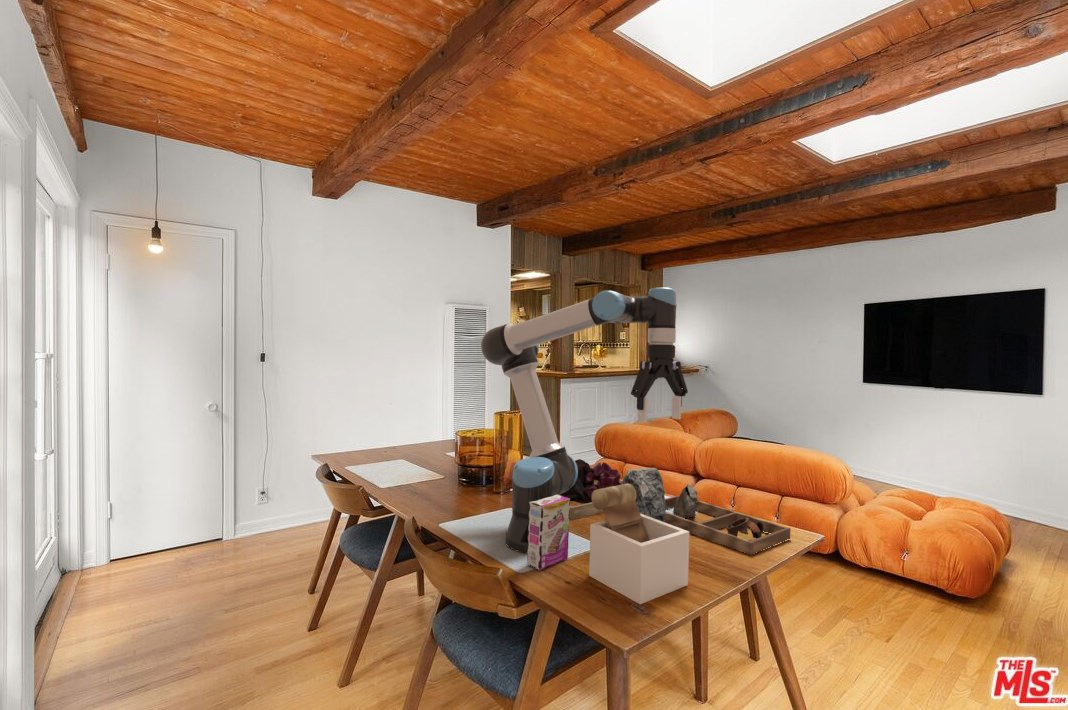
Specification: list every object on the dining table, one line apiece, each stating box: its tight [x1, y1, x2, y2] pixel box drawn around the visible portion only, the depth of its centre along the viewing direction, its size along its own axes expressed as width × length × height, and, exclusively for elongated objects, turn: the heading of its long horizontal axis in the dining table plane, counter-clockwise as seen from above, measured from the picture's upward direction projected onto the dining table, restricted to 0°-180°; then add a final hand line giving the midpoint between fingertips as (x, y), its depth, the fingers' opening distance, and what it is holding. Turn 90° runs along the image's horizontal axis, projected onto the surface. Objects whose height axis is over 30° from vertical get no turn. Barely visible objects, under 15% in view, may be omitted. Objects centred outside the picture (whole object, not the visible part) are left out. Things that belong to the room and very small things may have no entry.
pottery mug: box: [725, 518, 764, 539], centre depth 148 cm, size 12×10×8 cm
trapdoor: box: [592, 483, 649, 543], centre depth 125 cm, size 20×13×5 cm
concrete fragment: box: [673, 484, 699, 519], centre depth 171 cm, size 6×19×11 cm, turn 4°
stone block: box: [622, 467, 666, 522], centre depth 152 cm, size 18×9×20 cm, turn 132°
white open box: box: [588, 514, 690, 605], centre depth 122 cm, size 17×17×13 cm
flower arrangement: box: [563, 458, 622, 504], centre depth 187 cm, size 31×20×15 cm, turn 48°
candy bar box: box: [526, 494, 571, 572], centre depth 131 cm, size 11×5×16 cm, turn 136°
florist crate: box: [569, 478, 623, 521], centre depth 187 cm, size 29×40×4 cm
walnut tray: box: [665, 494, 791, 556], centre depth 160 cm, size 40×21×4 cm, turn 36°
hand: (659, 420), depth 140 cm, fingers open, 13 cm apart
